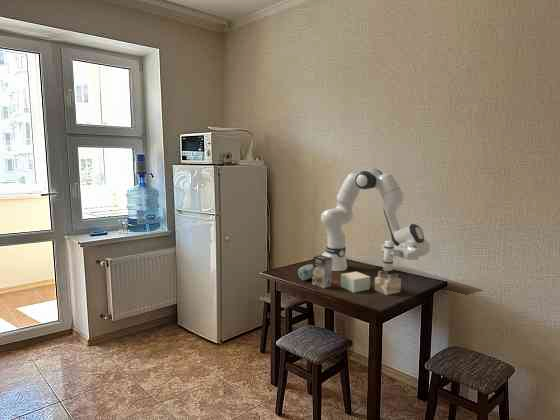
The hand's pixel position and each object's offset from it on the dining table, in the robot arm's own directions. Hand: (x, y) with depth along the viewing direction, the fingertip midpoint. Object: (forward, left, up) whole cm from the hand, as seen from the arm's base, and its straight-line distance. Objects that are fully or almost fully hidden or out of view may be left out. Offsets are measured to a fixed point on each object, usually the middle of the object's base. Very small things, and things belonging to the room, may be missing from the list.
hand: (387, 253), depth 204 cm
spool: (-38, -24, -21) cm, 49 cm away
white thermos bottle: (0, +1, -9) cm, 9 cm away
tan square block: (0, +1, -21) cm, 21 cm away
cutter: (-18, -15, -21) cm, 31 cm away
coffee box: (-24, -25, -21) cm, 40 cm away
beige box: (-12, -11, -21) cm, 26 cm away
